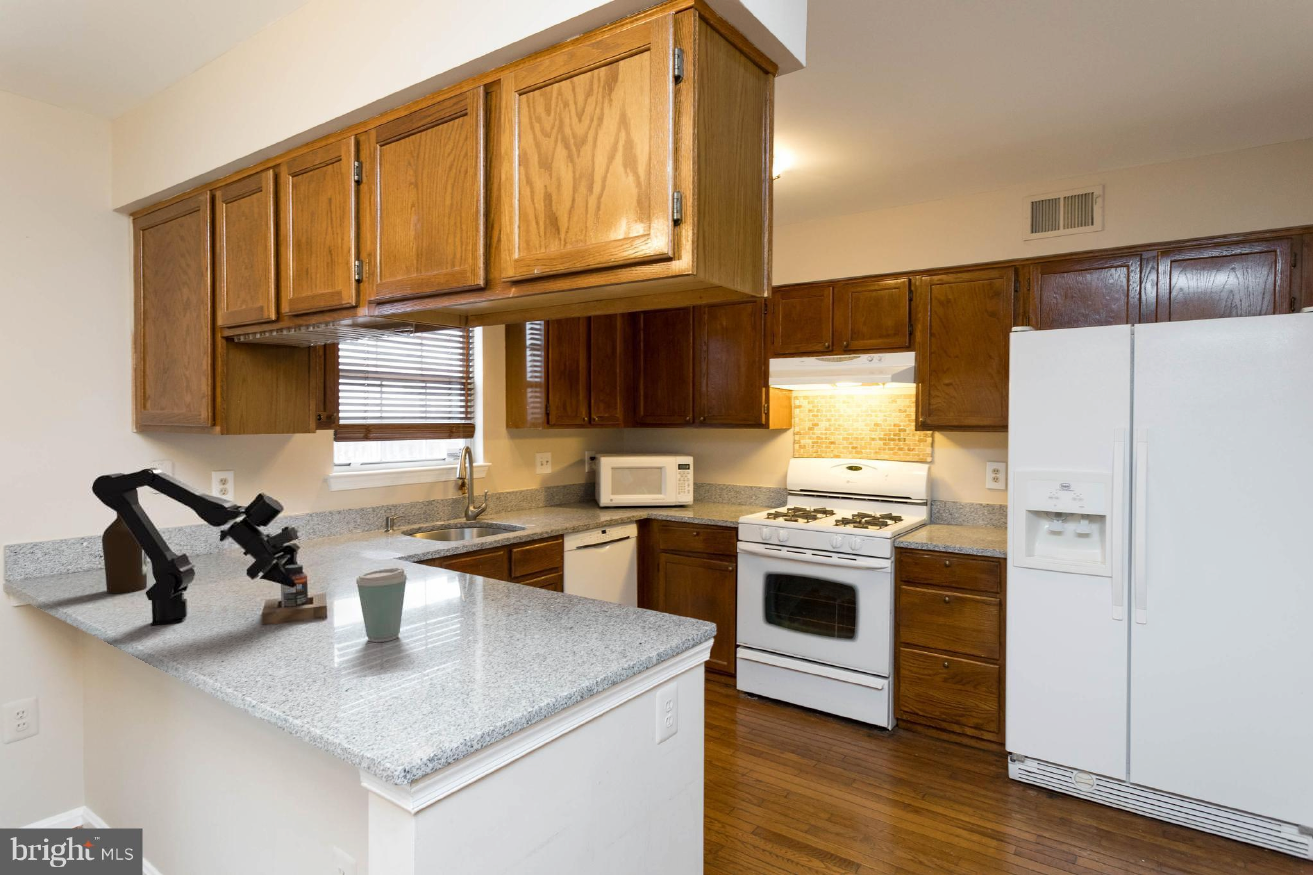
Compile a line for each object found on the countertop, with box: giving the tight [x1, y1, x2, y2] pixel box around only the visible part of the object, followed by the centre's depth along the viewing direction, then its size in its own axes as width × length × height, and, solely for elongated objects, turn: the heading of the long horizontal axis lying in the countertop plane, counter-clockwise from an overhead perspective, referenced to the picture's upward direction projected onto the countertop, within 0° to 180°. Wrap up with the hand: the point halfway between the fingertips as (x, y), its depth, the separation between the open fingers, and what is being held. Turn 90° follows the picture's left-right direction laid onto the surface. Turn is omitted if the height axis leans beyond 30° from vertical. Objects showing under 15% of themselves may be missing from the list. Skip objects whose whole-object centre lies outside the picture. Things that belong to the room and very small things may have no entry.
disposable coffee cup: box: [356, 567, 408, 643], centre depth 160 cm, size 11×11×15 cm
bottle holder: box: [261, 592, 328, 626], centre depth 181 cm, size 14×14×3 cm
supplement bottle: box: [280, 564, 309, 608], centre depth 180 cm, size 6×6×11 cm
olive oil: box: [101, 512, 148, 595], centre depth 210 cm, size 11×11×25 cm
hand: (299, 583), depth 180 cm, fingers closed on supplement bottle, 6 cm apart
